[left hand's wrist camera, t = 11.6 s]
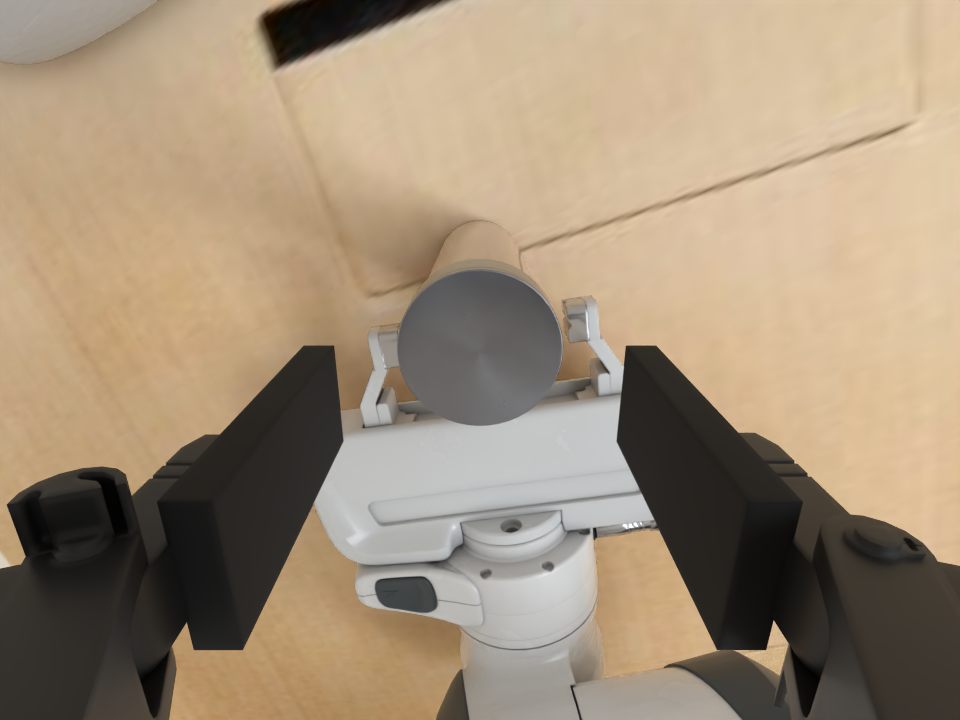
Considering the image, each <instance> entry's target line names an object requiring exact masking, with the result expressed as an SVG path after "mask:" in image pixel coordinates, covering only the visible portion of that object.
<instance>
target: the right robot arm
mask: <svg viewBox="0 0 960 720" xmlns="http://www.w3.org/2000/svg"><path fill="white" fill-rule="evenodd" d="M562 311H563V313H564V315H565V317H564V318H563V324H564V332H565V334H566V336H567V338H568V340H569V342H570V343H572V342H581V341H587V343H588V344H589V345H590V347H591V348H592V349H593V351H594V352H595V353H596V355H597V356H598V357H599V358H595V359H591V360H590V361H589V364H590V377H583V378H576V379H568V380H561V381H555V382H554V384H553V385H552V387H551V389H550V390H549V392H548V393H547V394H546V395H545V397H544V398H543V399H542V400H541V401H540V402H539V403H538V404H537V405H536V406H535V407H533V408H532V409H531V410H529V411H528V412H526V413H525V414H523V415H521V416H519V417H517V418H515V419H512V420H510V421H507V422H504V423H500V424H495V425H488V426H473V425H465V424H460V423H456V422H453V421H450V420H447V419H445V418H443V417H441V416H439V415H437V414H435V413H434V412H432V411H431V410H429V409H428V408H427V407H426V406H424V405H423V404H422V403H421V402H420V401H419V400H414V401H407V402H399V403H397V399H396V395H395V391H394V388H393V387H385V388H384V389H383V384H384V381H385V379H386V376H387V373H388V370H389V368H394V367H400V366H399V362H398V356H397V338H398V333H399V328H400V325H401V323H399V324H391V325H383V326H382V325H381V326H376V327H372V328H371V330H370V331H369V333H368V344H369V348H370V353H371V357H372V361H373V366H374V368H373V370H372V373H371V376H370V379H369V381H368V384H367V387H366V390H365V393H364V396H363V399H362V401H361V404H360V408H355V409H348V410H341V420H342V430H343V440H344V442H343V444H342V446H341V448H340V450H339V452H338V454H337V456H336V458H335V460H334V462H333V464H332V466H331V468H330V471H329V473H328V475H327V477H326V479H325V481H324V483H323V485H322V487H321V489H320V491H319V493H318V495H317V497H316V500H315V502H314V506H315V509H316V511H317V513H318V516H319V518H320V520H321V523H322V525H323V527H324V529H325V531H326V533H327V535H328V537H329V539H330V540H331V542H332V544H333V545H334V546H335V548H336V549H337V550H338V551H339V552H340V553H341V554H342V555H343V556H345V557H346V558H348V559H349V560H351V561H354V562H356V563H357V568H356V576H355V590H356V594H357V597H358V599H359V600H360V602H361V603H362V604H364V605H366V606H368V607H371V608H376V609H383V610H391V611H399V612H405V613H412V614H417V615H423V616H428V617H432V618H436V619H440V620H444V621H447V622H451V623H454V624H457V625H458V627H459V628H460V630H461V632H462V636H461V644H460V653H461V661H462V667H463V670H462V669H460V671H459V672H458V673H457V675H456V676H455V678H454V679H453V681H452V683H451V685H450V687H449V689H448V691H447V694H446V696H445V698H444V700H443V702H442V705H441V707H440V709H439V712H438V714H437V718H436V720H791V714H790V708H789V701H788V695H785V699H784V703H783V706H782V708H779V707H776V706H774V700H775V693H776V689H777V685H778V682H779V678H780V676H779V675H777V674H776V673H774V672H773V671H771V670H770V669H768V668H766V667H764V666H763V665H761V664H759V663H757V662H756V661H754V660H752V659H750V658H748V657H746V656H744V655H742V654H740V653H738V652H736V651H733V650H720V651H716V652H713V653H709V654H705V655H702V656H698V657H694V658H691V659H687V660H683V661H680V662H676V663H672V664H669V665H667V666H665V667H664V668H663V669H658V670H652V671H646V672H640V673H633V674H627V675H621V676H615V677H609V678H605V661H604V646H603V639H602V633H601V629H600V626H599V624H598V621H597V619H596V617H595V611H596V607H597V603H598V579H597V567H596V556H595V546H594V540H595V538H599V537H600V538H601V537H609V536H618V535H624V534H628V533H632V532H637V531H642V530H643V531H644V530H650V531H659V529H658V526H657V524H656V522H655V520H654V518H653V516H652V514H651V512H650V510H649V508H648V506H647V504H646V502H645V500H644V497H643V495H642V493H641V491H640V489H639V487H638V485H637V483H636V481H635V479H634V477H633V475H632V473H631V471H630V468H629V466H628V464H627V462H626V460H625V458H624V456H623V454H622V452H621V450H620V448H619V446H618V444H617V442H616V440H617V430H618V420H619V410H620V400H621V391H622V381H623V371H624V367H623V365H622V364H621V362H620V361H619V359H618V358H617V356H616V355H615V354H614V352H613V351H612V350H611V348H610V347H609V346H608V344H607V343H606V342H605V340H604V339H603V338H602V336H601V335H600V330H599V316H598V307H597V303H596V300H595V299H594V298H593V297H592V296H584V297H577V298H571V299H565V300H562Z"/></svg>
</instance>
